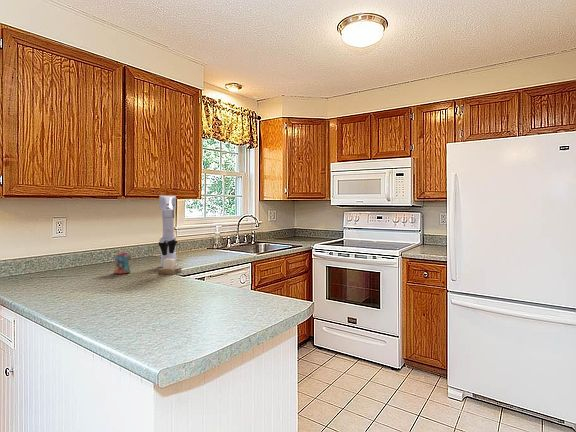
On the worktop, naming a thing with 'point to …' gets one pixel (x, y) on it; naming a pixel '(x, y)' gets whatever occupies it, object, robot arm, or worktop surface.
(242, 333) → the worktop surface
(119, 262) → the mug
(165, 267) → the cube
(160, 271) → the base slab
